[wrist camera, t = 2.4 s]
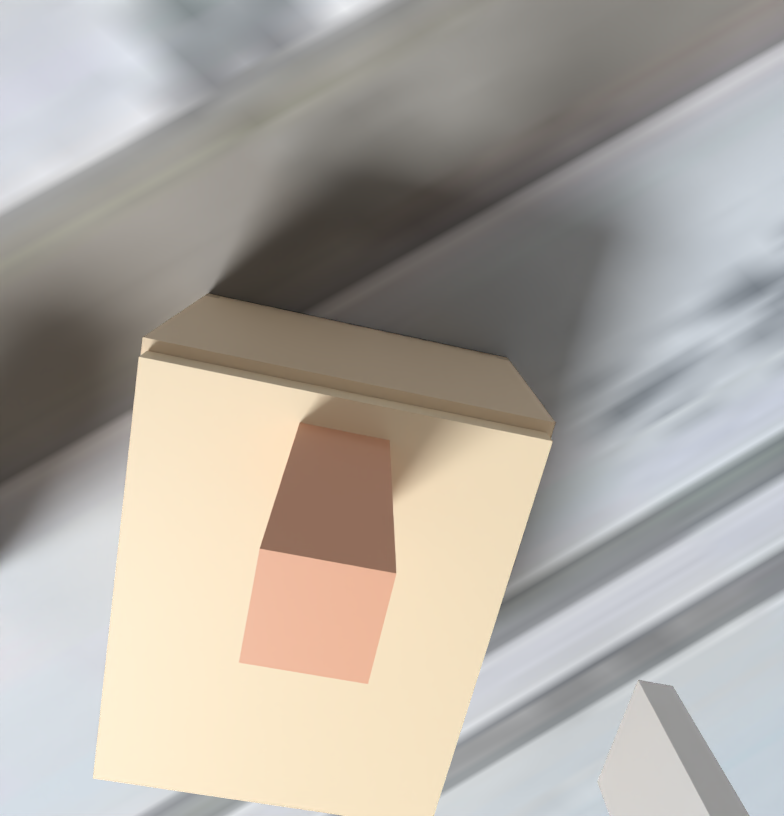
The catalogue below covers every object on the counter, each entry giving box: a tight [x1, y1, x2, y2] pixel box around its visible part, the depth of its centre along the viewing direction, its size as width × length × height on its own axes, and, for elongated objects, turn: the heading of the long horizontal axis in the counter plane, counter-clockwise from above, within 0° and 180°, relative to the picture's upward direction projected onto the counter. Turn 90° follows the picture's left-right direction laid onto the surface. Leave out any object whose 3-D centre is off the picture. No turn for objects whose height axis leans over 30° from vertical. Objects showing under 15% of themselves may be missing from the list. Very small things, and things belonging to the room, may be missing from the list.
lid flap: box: [93, 351, 553, 816], centre depth 21 cm, size 17×14×9 cm
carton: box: [141, 294, 555, 438], centre depth 30 cm, size 18×14×9 cm
